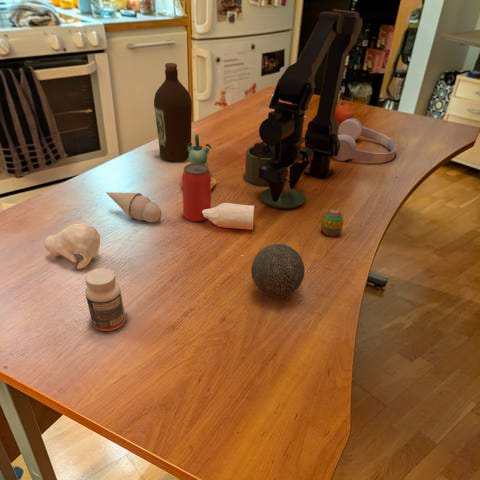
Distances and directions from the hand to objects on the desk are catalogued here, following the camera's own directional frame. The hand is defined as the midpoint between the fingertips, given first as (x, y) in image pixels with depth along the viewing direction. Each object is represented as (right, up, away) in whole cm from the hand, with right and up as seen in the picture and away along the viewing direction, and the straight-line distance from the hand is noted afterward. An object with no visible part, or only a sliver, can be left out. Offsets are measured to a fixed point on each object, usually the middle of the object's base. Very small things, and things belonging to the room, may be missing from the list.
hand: (283, 194), depth 119 cm
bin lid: (0, -1, +1) cm, 1 cm away
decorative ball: (-4, -27, -29) cm, 40 cm away
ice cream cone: (-37, -8, -8) cm, 39 cm away
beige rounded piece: (-46, -20, -23) cm, 55 cm away
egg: (+10, -12, -11) cm, 19 cm away
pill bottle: (-35, -33, -38) cm, 61 cm away
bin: (-5, +8, +11) cm, 14 cm away
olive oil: (-31, +17, +21) cm, 41 cm away
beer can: (-22, -7, -7) cm, 24 cm away
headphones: (+29, +22, +30) cm, 47 cm away
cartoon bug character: (-23, +3, +5) cm, 24 cm away
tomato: (+24, +38, +48) cm, 66 cm away
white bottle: (-14, -10, -10) cm, 20 cm away
